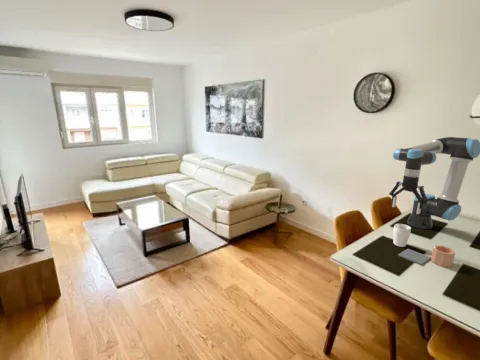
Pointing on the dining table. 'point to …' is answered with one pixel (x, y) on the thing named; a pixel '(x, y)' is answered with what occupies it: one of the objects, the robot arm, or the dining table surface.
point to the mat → (414, 256)
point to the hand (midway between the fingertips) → (405, 210)
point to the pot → (442, 256)
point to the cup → (401, 234)
